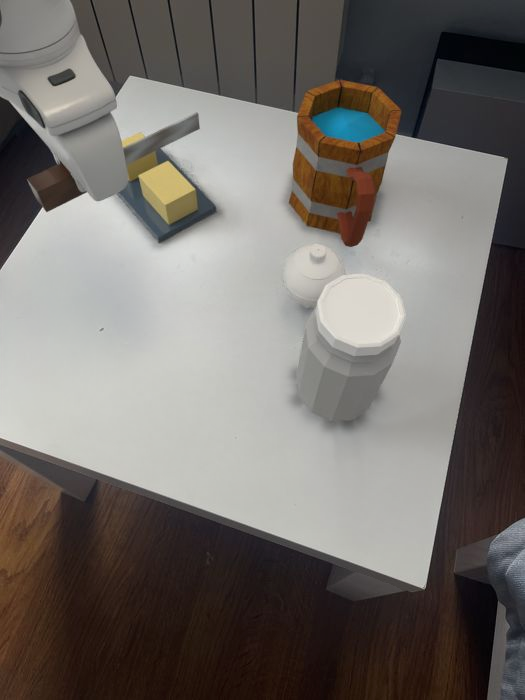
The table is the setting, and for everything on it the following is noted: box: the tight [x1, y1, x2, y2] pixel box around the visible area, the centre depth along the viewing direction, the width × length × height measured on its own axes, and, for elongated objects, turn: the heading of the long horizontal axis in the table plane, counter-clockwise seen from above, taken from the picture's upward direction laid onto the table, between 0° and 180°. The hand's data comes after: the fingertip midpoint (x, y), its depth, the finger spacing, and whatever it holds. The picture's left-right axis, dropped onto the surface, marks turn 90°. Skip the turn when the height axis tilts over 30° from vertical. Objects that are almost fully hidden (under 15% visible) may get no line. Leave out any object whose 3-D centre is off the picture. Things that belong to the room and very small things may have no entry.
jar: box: [295, 273, 407, 422], centre depth 58 cm, size 10×10×18 cm
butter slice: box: [121, 131, 158, 181], centre depth 80 cm, size 5×4×4 cm
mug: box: [288, 79, 402, 248], centre depth 73 cm, size 20×14×15 cm
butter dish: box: [116, 148, 217, 244], centre depth 80 cm, size 10×16×1 cm, turn 38°
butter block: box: [138, 161, 198, 225], centre depth 77 cm, size 5×7×4 cm
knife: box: [26, 111, 201, 213], centre depth 61 cm, size 21×2×3 cm, turn 128°
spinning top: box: [281, 243, 347, 309], centre depth 66 cm, size 8×8×12 cm
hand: (76, 176), depth 59 cm, fingers closed on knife, 2 cm apart
